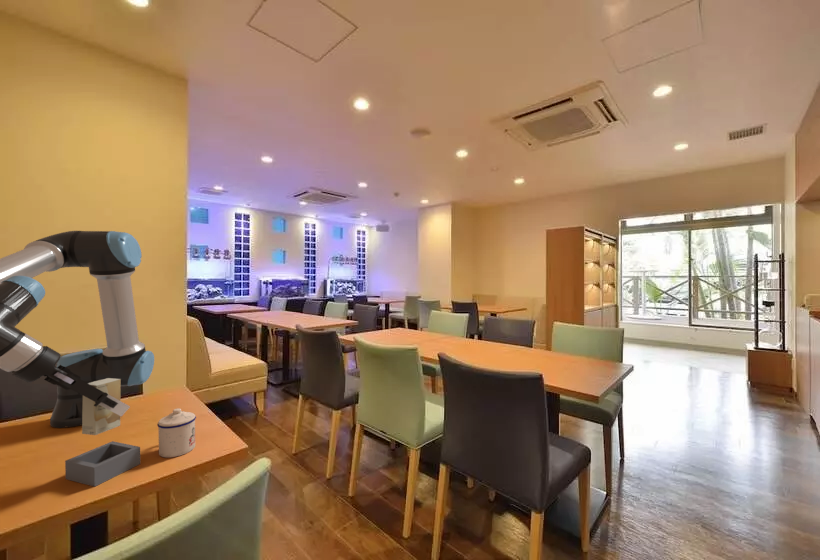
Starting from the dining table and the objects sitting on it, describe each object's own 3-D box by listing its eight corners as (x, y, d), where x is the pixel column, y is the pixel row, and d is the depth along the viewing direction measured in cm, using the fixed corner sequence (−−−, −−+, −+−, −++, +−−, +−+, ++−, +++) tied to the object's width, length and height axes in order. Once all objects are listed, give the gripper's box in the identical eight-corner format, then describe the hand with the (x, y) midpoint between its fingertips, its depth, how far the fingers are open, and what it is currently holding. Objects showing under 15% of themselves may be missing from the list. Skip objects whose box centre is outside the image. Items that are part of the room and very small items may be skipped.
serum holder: (65, 478, 86) (65, 460, 86) (112, 457, 96) (112, 441, 96) (94, 486, 83) (94, 467, 83) (140, 463, 93) (140, 446, 92)
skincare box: (95, 436, 85) (94, 385, 85) (81, 434, 86) (80, 384, 86) (122, 425, 91) (121, 378, 91) (108, 423, 92) (108, 377, 92)
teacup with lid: (198, 451, 99) (197, 410, 99) (158, 462, 93) (157, 418, 93) (193, 436, 108) (192, 398, 108) (156, 444, 103) (156, 405, 103)
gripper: (0, 367, 80) (94, 414, 94) (20, 380, 70) (122, 431, 84) (33, 340, 85) (118, 389, 99) (57, 349, 75) (148, 402, 89)
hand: (120, 408), depth 92 cm, fingers closed on skincare box, 6 cm apart
